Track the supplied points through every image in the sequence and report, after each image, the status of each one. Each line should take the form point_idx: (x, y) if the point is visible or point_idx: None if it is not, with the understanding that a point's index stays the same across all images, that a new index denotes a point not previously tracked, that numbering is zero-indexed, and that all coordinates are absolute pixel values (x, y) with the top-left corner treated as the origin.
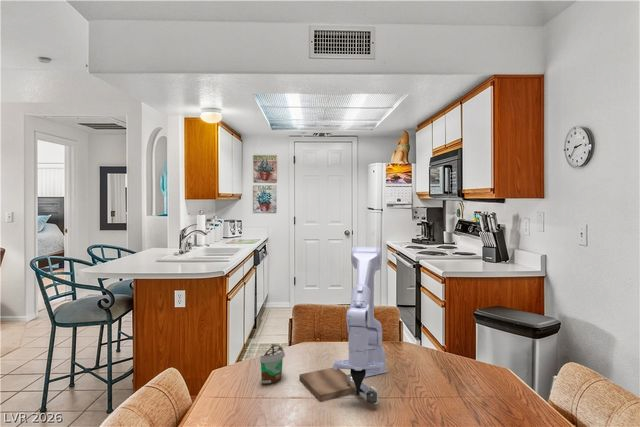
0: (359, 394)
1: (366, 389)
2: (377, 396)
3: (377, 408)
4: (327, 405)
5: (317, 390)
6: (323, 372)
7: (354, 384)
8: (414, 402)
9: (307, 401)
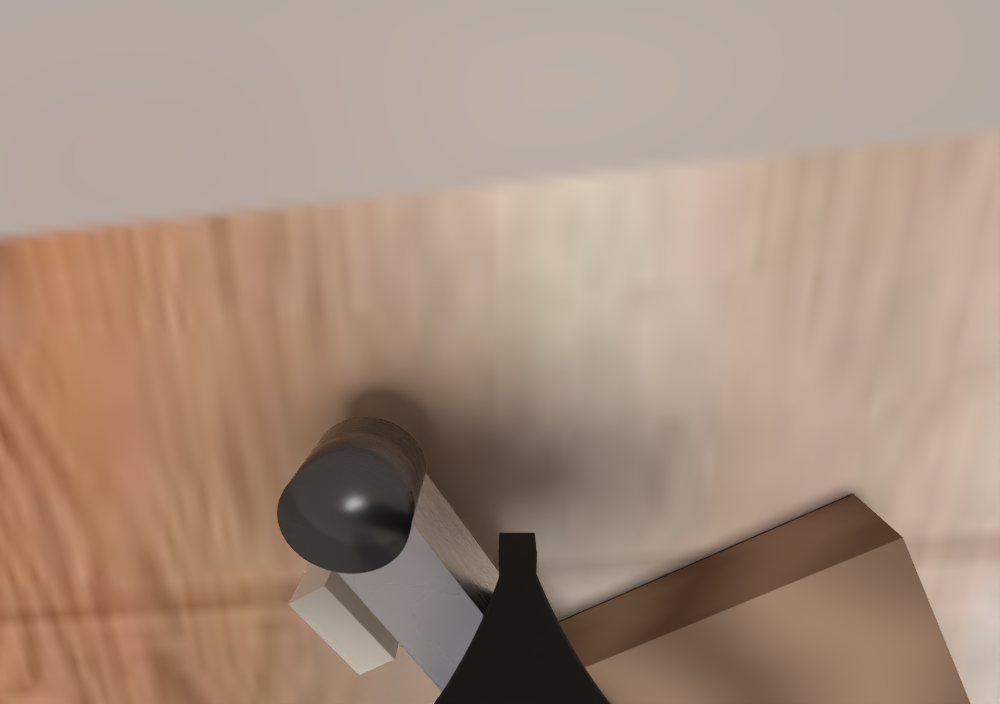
0: (500, 538)
1: (418, 604)
2: None
3: None
4: (794, 442)
5: (913, 611)
6: None
7: None
8: (48, 542)
9: (970, 491)
